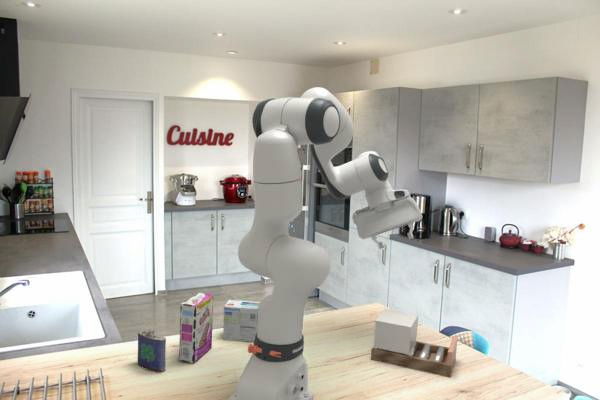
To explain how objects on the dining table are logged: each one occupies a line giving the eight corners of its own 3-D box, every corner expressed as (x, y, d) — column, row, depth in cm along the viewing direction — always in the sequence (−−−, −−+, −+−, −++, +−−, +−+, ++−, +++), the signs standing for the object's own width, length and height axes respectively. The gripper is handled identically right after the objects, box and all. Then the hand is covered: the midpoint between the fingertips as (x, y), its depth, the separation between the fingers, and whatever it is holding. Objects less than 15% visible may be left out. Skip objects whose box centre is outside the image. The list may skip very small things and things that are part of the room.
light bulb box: (261, 334, 158) (262, 301, 156) (257, 342, 151) (258, 308, 150) (227, 331, 159) (228, 298, 157) (222, 340, 152) (223, 305, 151)
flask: (167, 369, 132) (167, 331, 130) (159, 374, 129) (159, 334, 128) (142, 361, 136) (142, 323, 135) (134, 365, 134) (133, 326, 132)
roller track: (370, 359, 143) (372, 336, 142) (381, 344, 154) (382, 322, 153) (450, 377, 134) (452, 352, 133) (455, 359, 145) (457, 336, 144)
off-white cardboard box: (373, 347, 143) (375, 320, 142) (383, 333, 153) (385, 308, 152) (408, 354, 139) (410, 327, 138) (416, 340, 149) (418, 314, 148)
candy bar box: (194, 364, 135) (195, 306, 133) (178, 361, 137) (179, 303, 135) (213, 348, 146) (214, 294, 144) (197, 345, 147) (198, 291, 145)
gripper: (348, 210, 155) (362, 253, 151) (412, 188, 150) (428, 231, 146) (352, 214, 161) (365, 255, 156) (414, 192, 156) (429, 234, 152)
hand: (396, 243), depth 151 cm, fingers open, 8 cm apart
